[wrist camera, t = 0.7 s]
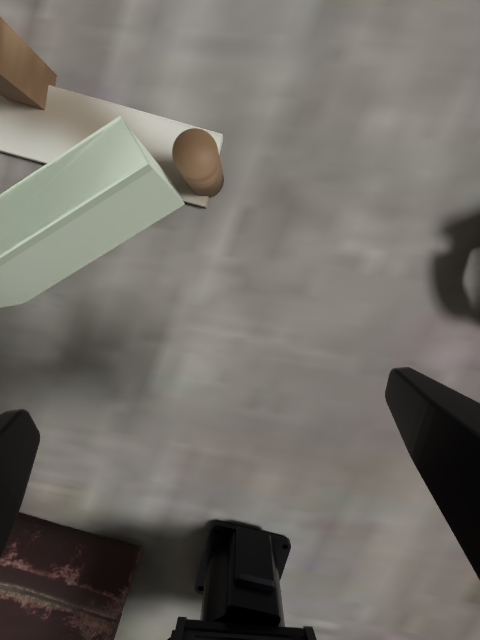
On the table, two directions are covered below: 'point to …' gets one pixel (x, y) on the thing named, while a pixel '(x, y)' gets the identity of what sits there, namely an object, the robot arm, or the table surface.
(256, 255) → the table surface
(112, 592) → the diary
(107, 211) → the pale green flat panel
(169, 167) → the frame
